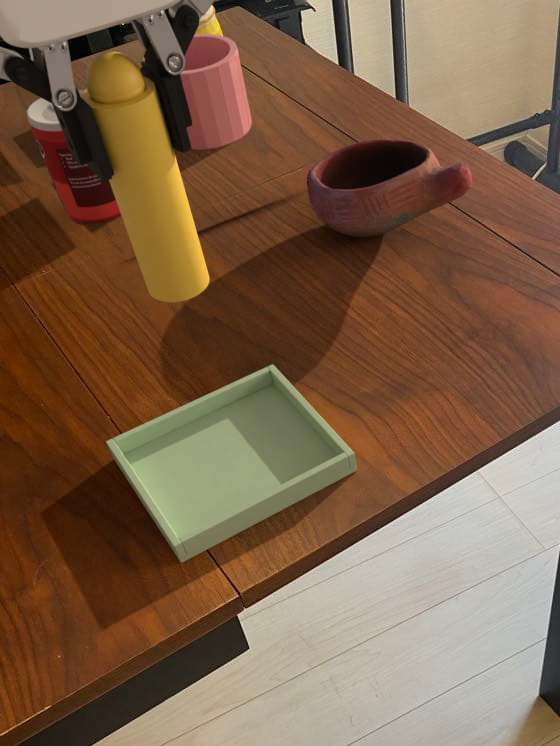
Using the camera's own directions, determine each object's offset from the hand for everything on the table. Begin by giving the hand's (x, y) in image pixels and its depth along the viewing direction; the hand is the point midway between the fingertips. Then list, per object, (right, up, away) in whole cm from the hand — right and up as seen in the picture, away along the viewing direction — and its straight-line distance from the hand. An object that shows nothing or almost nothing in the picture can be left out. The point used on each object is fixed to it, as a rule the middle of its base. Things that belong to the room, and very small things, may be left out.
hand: (137, 153), depth 47 cm
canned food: (-18, +15, +45) cm, 51 cm away
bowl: (+14, +11, +40) cm, 44 cm away
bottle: (+1, -5, +7) cm, 9 cm away
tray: (+1, -16, +19) cm, 25 cm away
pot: (-9, +28, +54) cm, 62 cm away
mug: (-14, +41, +65) cm, 78 cm away
